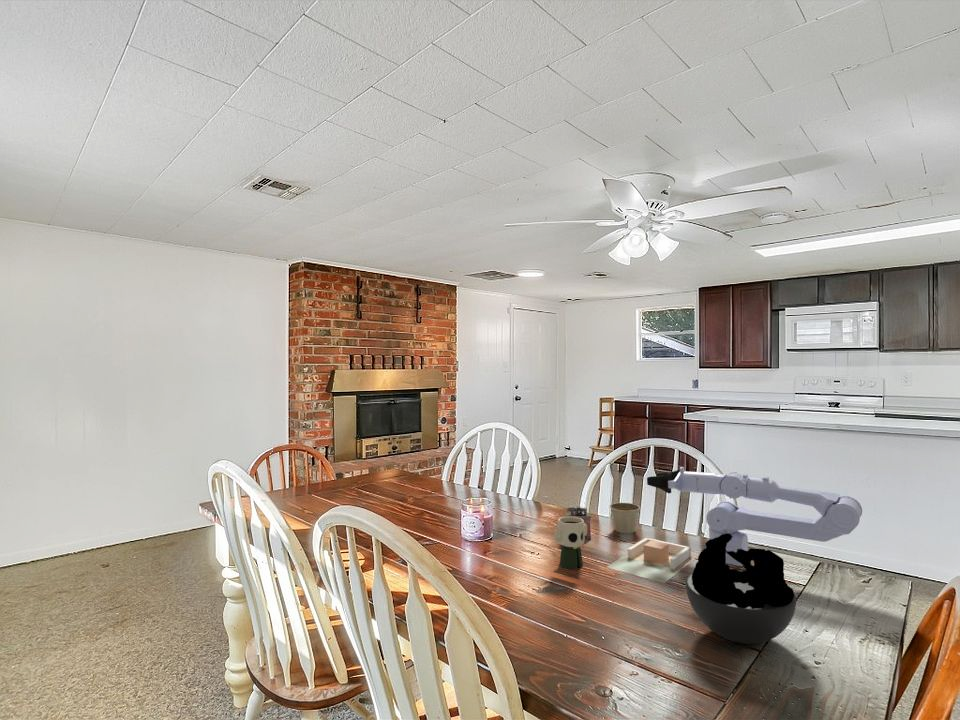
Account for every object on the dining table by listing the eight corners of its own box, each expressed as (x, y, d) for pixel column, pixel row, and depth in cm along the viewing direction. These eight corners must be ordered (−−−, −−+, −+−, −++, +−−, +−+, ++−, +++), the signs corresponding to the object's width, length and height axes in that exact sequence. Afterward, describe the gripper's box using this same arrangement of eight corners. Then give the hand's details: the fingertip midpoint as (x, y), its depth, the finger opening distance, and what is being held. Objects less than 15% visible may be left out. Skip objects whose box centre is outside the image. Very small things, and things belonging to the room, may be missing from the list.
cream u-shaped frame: (690, 556, 150) (690, 547, 150) (674, 569, 141) (674, 559, 141) (646, 546, 159) (645, 537, 159) (627, 557, 150) (627, 548, 150)
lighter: (590, 537, 171) (590, 505, 171) (591, 540, 167) (591, 508, 167) (564, 536, 171) (564, 505, 171) (565, 540, 168) (565, 508, 168)
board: (696, 561, 149) (696, 557, 149) (664, 587, 133) (664, 582, 133) (641, 548, 160) (641, 545, 160) (605, 571, 143) (605, 567, 143)
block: (668, 558, 149) (668, 544, 149) (661, 563, 145) (661, 549, 145) (651, 554, 152) (651, 540, 152) (643, 559, 148) (643, 545, 148)
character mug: (563, 577, 140) (562, 526, 140) (547, 568, 146) (546, 519, 146) (595, 568, 145) (595, 520, 145) (578, 560, 151) (577, 513, 151)
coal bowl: (796, 677, 95) (794, 570, 95) (676, 647, 105) (675, 550, 105) (798, 628, 112) (796, 537, 112) (695, 606, 122) (694, 523, 122)
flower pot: (633, 540, 167) (633, 512, 167) (605, 534, 173) (604, 507, 173) (644, 532, 175) (644, 505, 175) (617, 527, 181) (616, 501, 181)
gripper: (706, 465, 158) (660, 462, 167) (690, 471, 147) (642, 468, 155) (708, 489, 158) (662, 485, 166) (692, 497, 146) (643, 493, 155)
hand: (652, 479), depth 161 cm, fingers open, 7 cm apart
